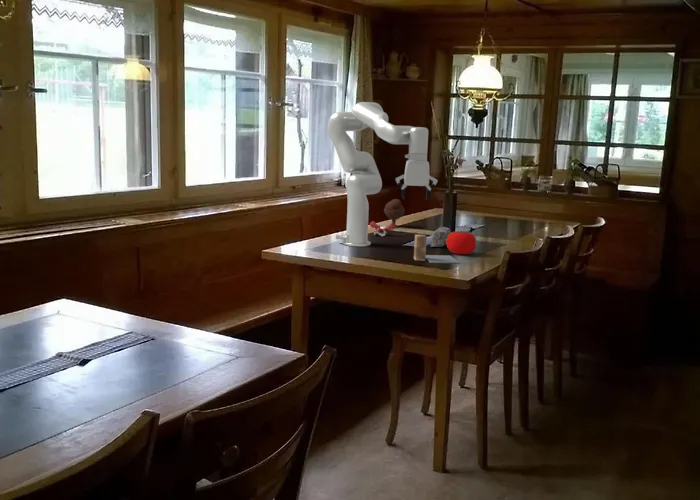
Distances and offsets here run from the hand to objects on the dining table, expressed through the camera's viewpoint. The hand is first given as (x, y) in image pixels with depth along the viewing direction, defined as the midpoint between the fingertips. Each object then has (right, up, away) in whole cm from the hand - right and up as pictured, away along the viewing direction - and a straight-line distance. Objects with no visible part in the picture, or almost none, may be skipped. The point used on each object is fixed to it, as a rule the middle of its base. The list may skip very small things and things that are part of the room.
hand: (415, 199), depth 304 cm
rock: (+14, -19, +32) cm, 39 cm away
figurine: (-12, -14, +53) cm, 56 cm away
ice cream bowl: (-5, -9, +78) cm, 78 cm away
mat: (+10, -25, 0) cm, 27 cm away
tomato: (+21, -23, +15) cm, 34 cm away
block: (+2, -25, -1) cm, 25 cm away
